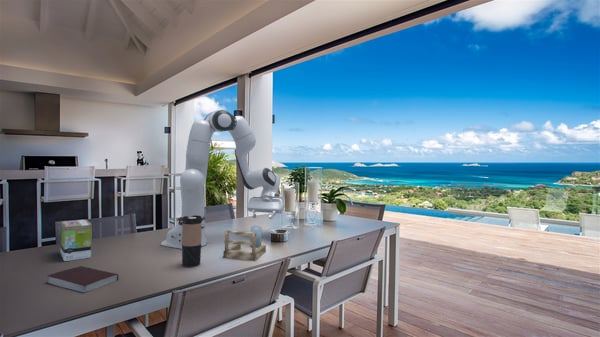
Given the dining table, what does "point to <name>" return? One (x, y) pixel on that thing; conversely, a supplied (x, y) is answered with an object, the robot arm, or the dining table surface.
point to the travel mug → (191, 241)
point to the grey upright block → (258, 235)
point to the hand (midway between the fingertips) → (262, 217)
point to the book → (82, 278)
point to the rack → (234, 249)
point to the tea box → (75, 240)
